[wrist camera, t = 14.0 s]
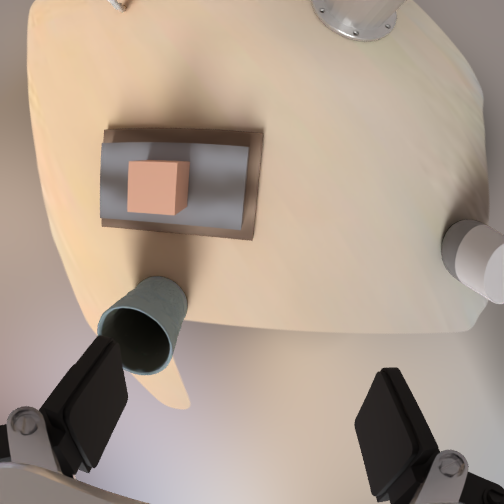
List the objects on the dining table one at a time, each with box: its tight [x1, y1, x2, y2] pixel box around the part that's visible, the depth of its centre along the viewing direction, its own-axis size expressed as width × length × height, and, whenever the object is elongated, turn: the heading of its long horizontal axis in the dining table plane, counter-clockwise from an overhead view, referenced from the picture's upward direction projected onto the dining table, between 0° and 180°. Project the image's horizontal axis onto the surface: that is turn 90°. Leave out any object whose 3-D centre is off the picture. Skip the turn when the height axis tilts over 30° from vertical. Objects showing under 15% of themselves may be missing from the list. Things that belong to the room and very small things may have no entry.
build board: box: [100, 128, 263, 241], centre depth 37 cm, size 14×22×4 cm, turn 85°
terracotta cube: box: [127, 160, 190, 215], centre depth 33 cm, size 6×6×6 cm
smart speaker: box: [441, 220, 504, 304], centre depth 34 cm, size 10×9×14 cm
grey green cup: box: [97, 276, 187, 375], centre depth 39 cm, size 10×10×12 cm
